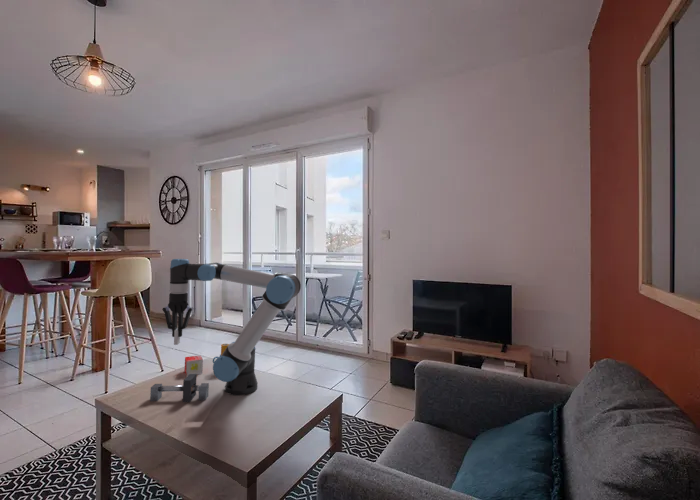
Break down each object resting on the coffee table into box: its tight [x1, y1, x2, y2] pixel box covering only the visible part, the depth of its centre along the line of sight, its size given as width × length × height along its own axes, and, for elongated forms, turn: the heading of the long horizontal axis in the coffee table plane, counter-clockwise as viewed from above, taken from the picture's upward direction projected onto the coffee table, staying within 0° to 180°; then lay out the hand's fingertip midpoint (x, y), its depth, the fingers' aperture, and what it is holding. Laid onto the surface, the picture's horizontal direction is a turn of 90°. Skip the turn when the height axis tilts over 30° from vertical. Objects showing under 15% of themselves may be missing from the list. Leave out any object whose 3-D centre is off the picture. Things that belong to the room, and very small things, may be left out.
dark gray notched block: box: [182, 374, 198, 403], centre depth 146 cm, size 3×8×10 cm, turn 7°
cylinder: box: [212, 343, 230, 364], centre depth 183 cm, size 12×10×15 cm
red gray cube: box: [184, 354, 204, 377], centre depth 180 cm, size 8×8×8 cm
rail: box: [149, 382, 210, 402], centre depth 146 cm, size 23×7×7 cm, turn 97°
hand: (176, 343), depth 150 cm, fingers closed
